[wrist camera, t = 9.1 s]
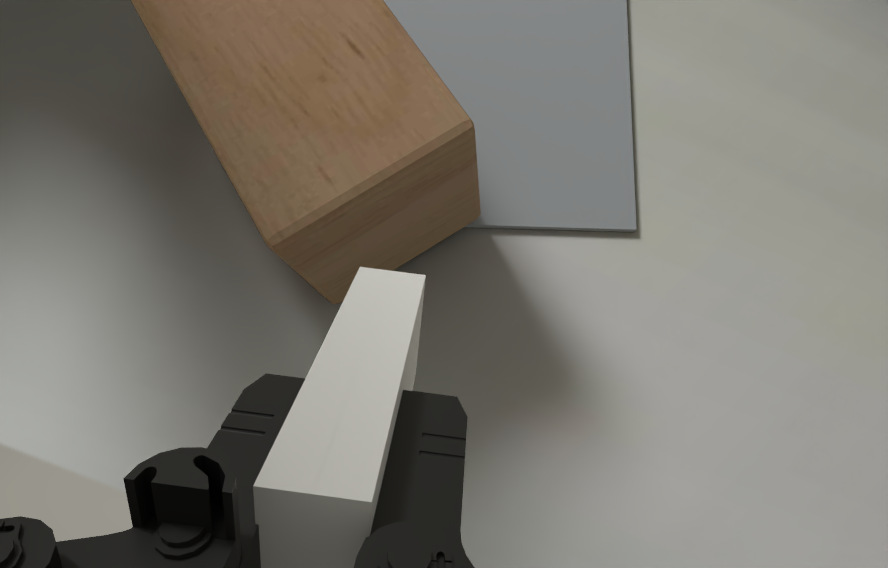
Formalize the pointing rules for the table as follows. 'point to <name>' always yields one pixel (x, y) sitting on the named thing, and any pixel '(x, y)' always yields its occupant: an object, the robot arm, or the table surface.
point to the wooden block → (324, 128)
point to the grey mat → (538, 105)
